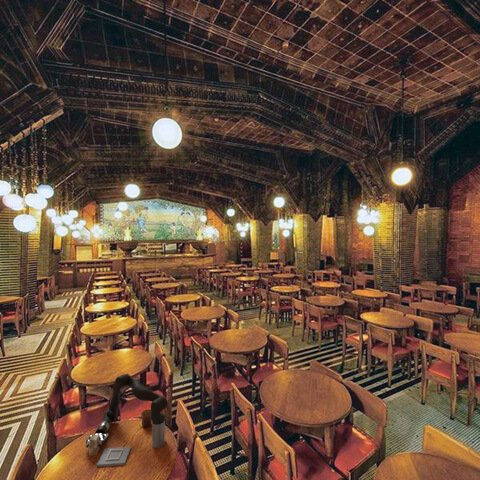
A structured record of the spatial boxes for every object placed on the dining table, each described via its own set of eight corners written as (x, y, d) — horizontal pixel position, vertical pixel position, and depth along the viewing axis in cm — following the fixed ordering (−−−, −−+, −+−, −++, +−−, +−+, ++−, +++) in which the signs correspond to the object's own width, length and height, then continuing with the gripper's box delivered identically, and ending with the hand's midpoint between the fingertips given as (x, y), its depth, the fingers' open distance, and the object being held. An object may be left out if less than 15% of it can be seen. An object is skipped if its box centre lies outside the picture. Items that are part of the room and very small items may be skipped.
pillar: (99, 449, 197) (99, 434, 196) (96, 454, 192) (96, 439, 192) (92, 449, 196) (92, 434, 196) (89, 455, 191) (89, 439, 191)
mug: (142, 430, 216) (142, 417, 216) (140, 423, 223) (140, 411, 223) (157, 424, 223) (157, 412, 222) (154, 418, 230) (154, 406, 230)
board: (130, 448, 197) (130, 445, 197) (124, 464, 183) (124, 461, 183) (105, 450, 196) (105, 447, 196) (96, 466, 182) (96, 463, 182)
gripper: (92, 425, 207) (82, 441, 191) (112, 424, 209) (103, 440, 192) (92, 435, 207) (82, 452, 191) (112, 434, 209) (103, 450, 192)
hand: (93, 446), depth 192 cm, fingers open, 7 cm apart
